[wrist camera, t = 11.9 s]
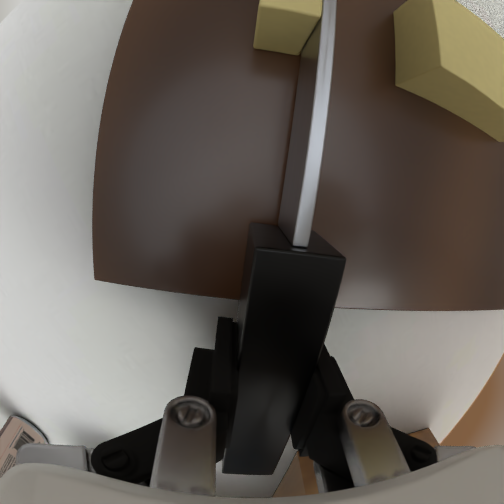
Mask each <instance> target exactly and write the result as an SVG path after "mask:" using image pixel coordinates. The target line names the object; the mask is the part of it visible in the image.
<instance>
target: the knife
mask: <svg viewBox="0 0 504 504" xmlns="http://www.w3.org/2000/svg"><path fill="white" fill-rule="evenodd" d="M336 11H337V0H322V14H321V18H320V19H319V21H318V23H317V24H316V26H315V28H314V30H313V31H312V33H311V35H310V37H309V38H308V40H307V42H306V43H305V45H304V47H303V49H302V51H301V60H300V68H299V76H298V85H297V92H296V100H295V108H294V116H293V123H292V131H291V138H290V145H289V152H288V159H287V166H286V173H285V180H284V187H283V194H282V200H281V207H280V213H279V220H278V226H276V225H269V224H261V223H253V222H252V223H250V225H249V232H248V240H247V247H246V255H245V262H244V270H243V277H242V285H241V292H240V300H239V307H238V315H237V370H238V400H237V407H236V413H235V419H234V425H233V431H232V437H231V443H230V449H225V452H224V458H223V459H222V473H224V474H243V475H272V474H273V472H274V470H275V468H276V466H277V464H278V462H279V460H280V457H281V455H282V453H283V451H284V448H285V446H286V444H287V442H288V439H289V437H290V434H291V431H292V428H293V426H294V423H295V421H296V418H297V416H298V413H299V411H300V408H301V405H302V403H303V400H304V397H305V395H306V392H307V389H308V387H309V384H310V381H311V378H312V375H313V374H314V372H315V369H316V366H317V363H318V360H319V357H320V354H321V351H322V347H323V344H324V341H325V338H326V335H327V331H328V328H329V325H330V321H331V318H332V314H333V311H334V307H335V303H336V300H337V296H338V292H339V288H340V285H341V281H342V277H343V272H344V268H345V264H346V257H344V256H343V255H342V254H341V253H340V252H339V251H338V250H336V249H335V248H334V247H333V246H332V245H331V244H329V243H328V242H327V241H326V240H325V239H324V238H322V237H321V236H320V235H319V234H318V233H316V232H315V231H313V230H311V227H312V222H313V216H314V210H315V204H316V198H317V192H318V186H319V179H320V173H321V166H322V159H323V152H324V145H325V137H326V129H327V121H328V112H329V103H330V94H331V83H332V73H333V61H334V47H335V31H336Z"/></svg>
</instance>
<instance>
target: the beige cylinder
mask: <svg viewBox="0 0 504 504" xmlns="http://www.w3.org/2000/svg"><path fill="white" fill-rule="evenodd" d="M26 443H39V444H48V442H47V441H46V438H45V437H44V435H43V434H42V433H41V432H40V431H39V430H38V429H37V428H36V427H35V426H34V425H32V424H31V423H30V422H28V421H27V420H25V419H23V418H21V417H17V416H10V417H9V419H8V420H7V422H6V423H5V425H4V426H3V428H2V429H1V431H0V478H1V477H2V476H3V475H4V474H5V473H6V472H7V471H8V470H9V469H10V468H12V467H14V466H16V454H17V450H18V449H19V448H20V447H21V446H22V445H24V444H26Z"/></svg>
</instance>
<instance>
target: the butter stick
mask: <svg viewBox="0 0 504 504" xmlns="http://www.w3.org/2000/svg"><path fill="white" fill-rule="evenodd" d="M393 15H394V29H395V60H396V71H395V85H396V86H398V87H400V88H402V89H405V90H407V91H409V92H412V93H414V94H416V95H418V96H421V97H423V98H425V99H427V100H429V101H431V102H433V103H435V104H437V105H439V106H441V107H443V108H445V109H447V110H448V111H450V112H452V113H454V114H456V115H457V116H459V117H461V118H463V119H464V120H466V121H468V122H469V123H471V124H473V125H474V126H476V127H477V128H479V129H481V130H482V131H484V132H485V133H487V134H488V135H490V136H491V137H493V138H494V139H496V140H497V141H498V142H504V39H503V38H502V37H501V36H500V35H499V34H498V33H496V32H495V31H494V30H493V29H492V28H491V27H490V26H488V25H487V24H486V23H485V22H483V21H482V20H481V19H480V18H479V17H477V16H476V15H475V14H473V13H472V12H471V11H469V10H468V9H467V8H465V7H464V6H463V5H461V4H460V3H458V2H457V1H455V0H407V1H406V2H405V3H404V4H402V5H401V6H400V7H399V8H398V9H397V10H395V11H394V12H393Z"/></svg>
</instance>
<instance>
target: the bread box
mask: <svg viewBox="0 0 504 504" xmlns="http://www.w3.org/2000/svg"><path fill="white" fill-rule="evenodd" d="M408 435H410V436H413V437H415V438H417V439H420V440H422V441H425V442H427V443H428V444H430V445H431V446H432V447H433V448H434V447H435V446H440V445H439V443H438V442H437V440H436V439H435V437H434V435H433V434H432V432H431V430H430V429H429V428H427V429H424V430H421V431H417V432H414V433H410V434H408ZM313 462H314V461H313V460H311V459H310V458H309V456H307V457H300V456H299V451H297V453H296V455H295V457H294V459H293V461H292V463H291V464H290V466H289V468H288V470H287V472H286V474H285V476H284V477H283V479H282V481H281V483H280V484H279V486H278V488H277V490H276V491H275V493H274V495H273V496H272V498H275V497H292V496H303V495H312V494H319V492H318V487H317V482H316V477H315V472H314V467H313Z"/></svg>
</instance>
